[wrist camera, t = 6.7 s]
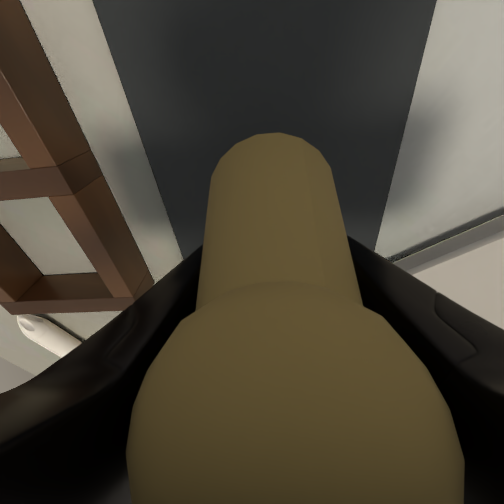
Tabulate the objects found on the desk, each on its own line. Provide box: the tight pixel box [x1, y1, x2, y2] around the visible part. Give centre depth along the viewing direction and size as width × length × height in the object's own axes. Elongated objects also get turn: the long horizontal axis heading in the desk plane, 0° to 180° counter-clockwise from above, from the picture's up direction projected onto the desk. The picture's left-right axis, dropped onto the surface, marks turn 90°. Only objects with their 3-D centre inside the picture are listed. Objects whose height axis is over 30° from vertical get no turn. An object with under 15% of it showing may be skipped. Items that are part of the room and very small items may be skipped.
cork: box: [126, 132, 465, 504], centre depth 8 cm, size 6×6×11 cm
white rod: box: [17, 315, 82, 358], centre depth 28 cm, size 18×2×2 cm, turn 25°
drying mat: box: [92, 0, 437, 259], centre depth 15 cm, size 20×14×1 cm
